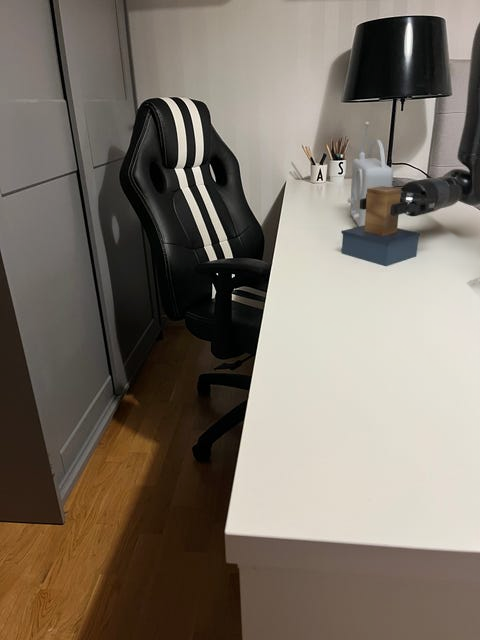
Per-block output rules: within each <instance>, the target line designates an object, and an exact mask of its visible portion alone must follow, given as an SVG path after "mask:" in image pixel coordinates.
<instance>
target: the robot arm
mask: <svg viewBox="0 0 480 640" xmlns="http://www.w3.org/2000/svg"><path fill="white" fill-rule="evenodd" d="M470 53H471V54H470V64H469V73H468V82H467V83H468V84H467V95H466V107H465V108H466V109H465V116H464V123H463V128H462V132H461V137H460V141H459V145H458V150H457V161H458V162H459V163H460V164H462V165H463V166H465V167H466V168H467V170H466V169H462V168H454V169H451V170H449V171H448V172H447V173H444V175H442V176H439V177H428V178H422V179H418V180H417V179H416V180H412V181H408V182H407V183H406V182H405V184H403V186H402V187H401V188H400V189H401V196H400V203H396V204H392V205H391V212H390V214H391V215H393V216H396V215H406V216H409V217H418V216H422V215H426V214H430V213H434V212H437V211H438V210H440V209H444V208H448V207H451V206H454V205H455V204H457V203H458V202H459V203H461V204H465V205H467V206H471V207H475V206H479V205H480V22H479V23H478V24H477V26H476V29H475V32H474V36H473V41H472V46H471V51H470ZM366 201H367V194H366V198H363V199H361V200H360V209H362V210H364V209H366Z"/></svg>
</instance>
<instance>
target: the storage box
mask: <svg viewBox="0 0 480 640" xmlns="http://www.w3.org/2000/svg"><path fill="white" fill-rule="evenodd" d="M364 228H365V225H363V226H356V227H352V228H347V229H343V230H341V234H342V242H341V243H342V244H341V254H343V255H346V256H350V257H354V258H356V259H360V260H364V261H368V262H371V263H375V264H377V265H381V266H385V267H387V266H390V265H394V264H396V263H400V262H403V261H406V260H409V259H412V258H415V257H417V254H418V253H417V252H418V245H419V238H420V236H421V232H417V231H412V230H407V229H403V228H398V227H397V232H396V233H392V234H389V235H385V236H381V235H377V234H372V233H368V232H364Z"/></svg>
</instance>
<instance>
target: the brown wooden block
mask: <svg viewBox="0 0 480 640" xmlns="http://www.w3.org/2000/svg"><path fill="white" fill-rule="evenodd" d="M400 196H401V188H400V187H393V186H392V187H385V186H379V187H373V188H368V189H367V201H366V215H365V228H364V232H368V233H372V234H377V235H381V236H385V235H389V234H392V233H396V232H397V228H398V224H399V215H396V216H393V215H391V214H390V212H391V205H392V204H396V203H400Z"/></svg>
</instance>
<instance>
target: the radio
mask: <svg viewBox="0 0 480 640" xmlns="http://www.w3.org/2000/svg"><path fill="white" fill-rule="evenodd" d="M369 126H370V122H369V121H366V122H365V124H364V131H363V132H364V133H363V139H362V145H361V150H360V153H358V158H354V160H353V161H352V164H351V182H350V183H351V184H350V185H351V187H350V189H351V190H350V197H348V198H347V203H349V204H350V208H349V210H350V211H349V212H350V215H351V217H352V218H353V220H354V222H355V223H356V225H357V227H359V226H363V225H365V215H366V209H364V210H362V209H360V200H361V199H363V198H366V194H367V189H368V188H373V187H379V186H385V187H392V188H393V180H394V170H393V168H392V167H390V166H389V165H387V164H386V156H385V149H384V145H383V142H382V141H381V140H380V139H374V140H373V141H372V143H371V145H370V148H369V151H368V155H367V158H366V153H365V152H364V151H365V147H366V146H365V145H366V140H367V134H368V128H369ZM376 144H377V145H378V148H379V153H380V160H379V159H378V158H376V157H372V156H373V153H374V148H375V146H376Z"/></svg>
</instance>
